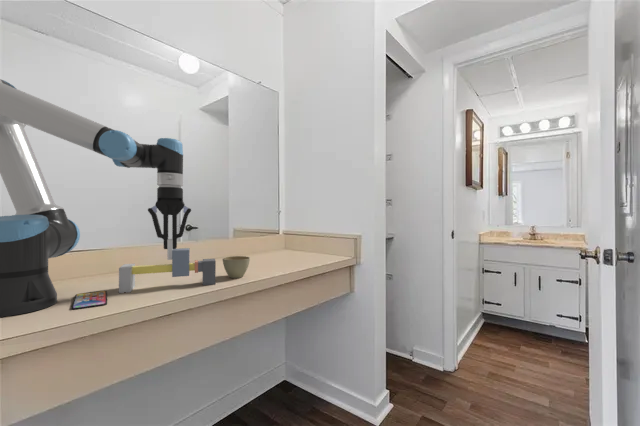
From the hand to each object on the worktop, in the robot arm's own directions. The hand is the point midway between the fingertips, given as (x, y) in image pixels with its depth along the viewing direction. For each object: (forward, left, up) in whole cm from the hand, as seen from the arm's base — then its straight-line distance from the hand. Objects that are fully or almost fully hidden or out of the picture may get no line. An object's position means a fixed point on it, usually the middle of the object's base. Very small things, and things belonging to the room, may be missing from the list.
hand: (170, 258), depth 98 cm
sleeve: (+3, 0, -6) cm, 6 cm away
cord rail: (0, 0, -9) cm, 9 cm away
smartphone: (-19, -9, -10) cm, 23 cm away
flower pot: (+22, +7, -9) cm, 25 cm away
